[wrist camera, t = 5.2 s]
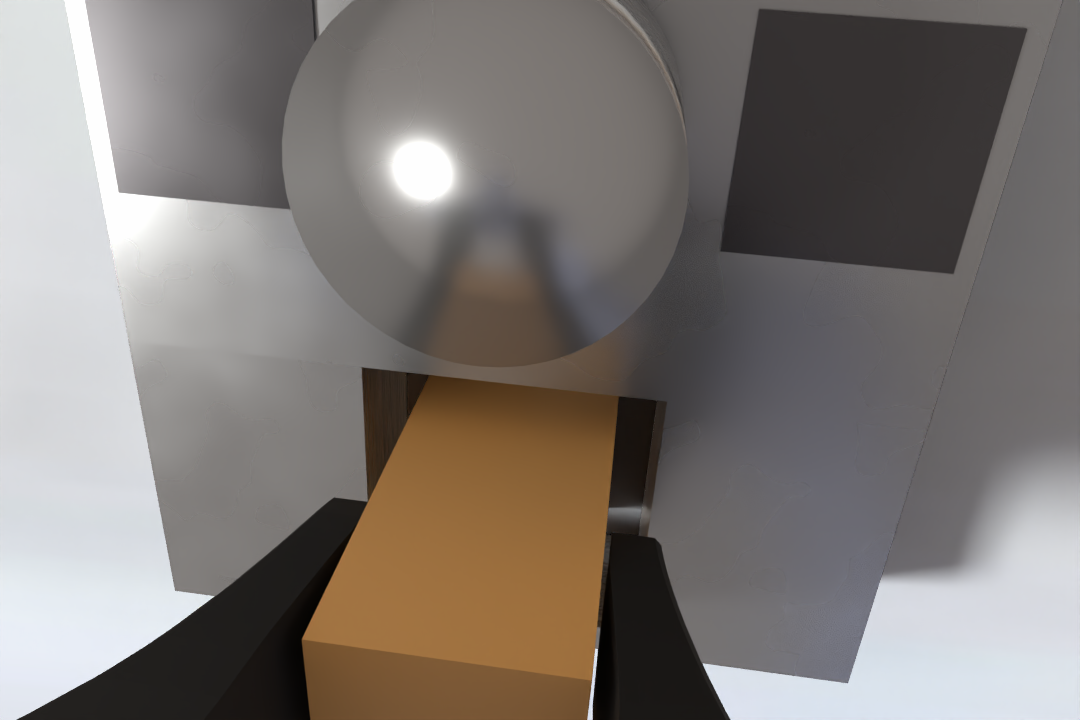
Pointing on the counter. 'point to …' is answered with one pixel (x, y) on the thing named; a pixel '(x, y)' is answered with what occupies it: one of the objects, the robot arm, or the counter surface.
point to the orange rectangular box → (472, 563)
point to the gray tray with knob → (561, 258)
